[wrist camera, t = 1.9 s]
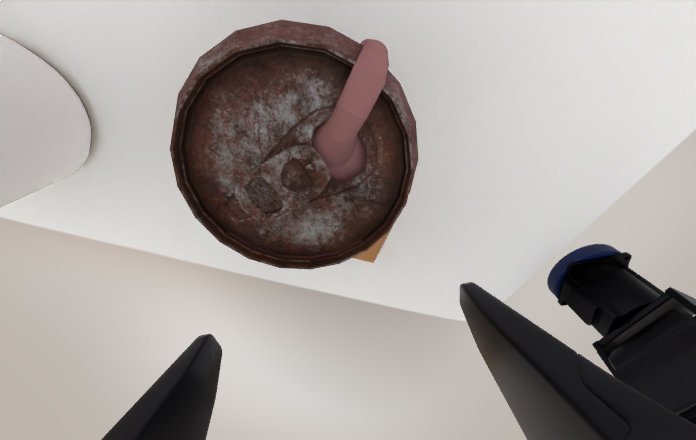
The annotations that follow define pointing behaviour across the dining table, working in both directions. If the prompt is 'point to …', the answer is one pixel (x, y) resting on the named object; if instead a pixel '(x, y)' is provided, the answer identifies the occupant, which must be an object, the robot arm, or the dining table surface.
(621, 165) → the dining table surface
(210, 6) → the dining table surface
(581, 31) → the dining table surface
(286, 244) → the can
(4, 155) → the alcohol
